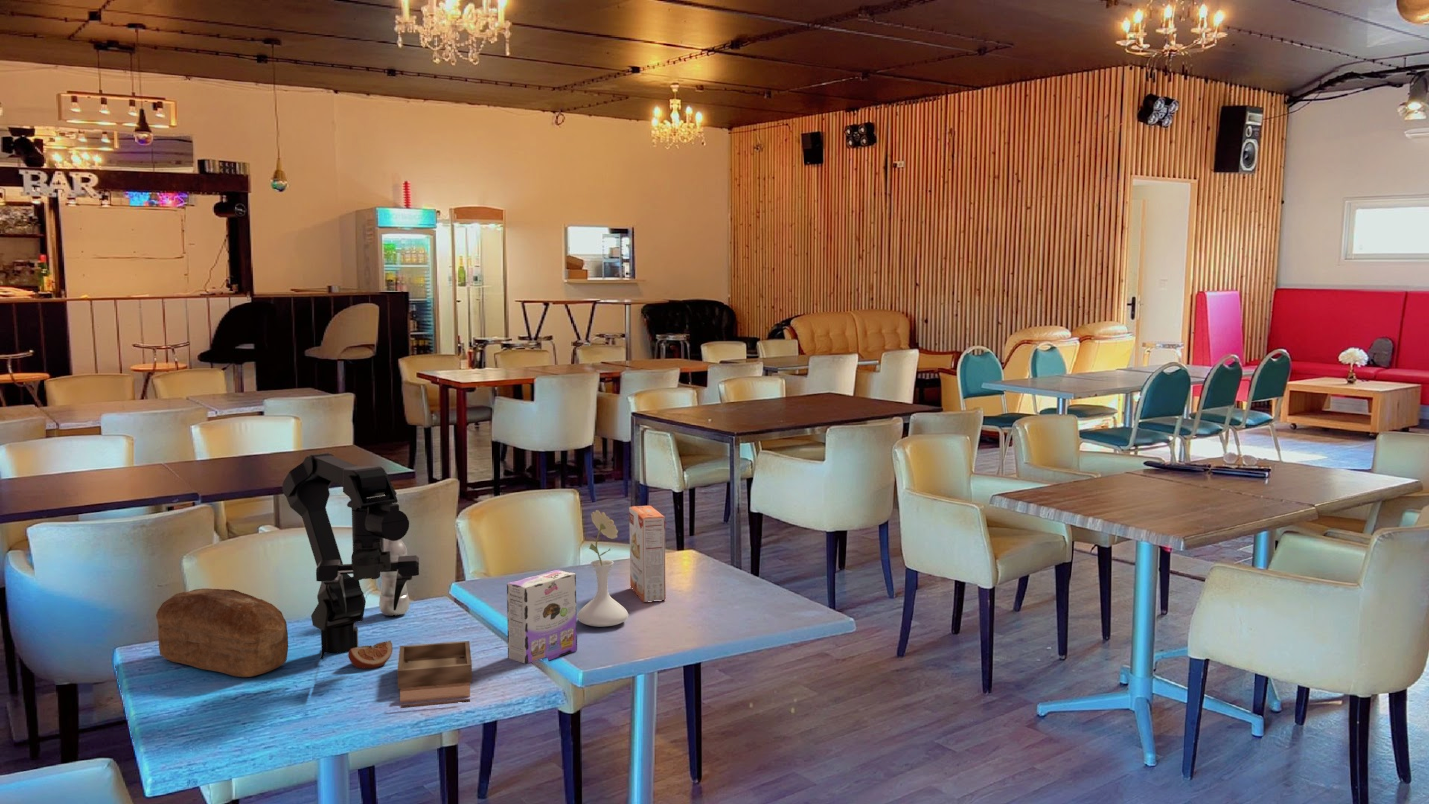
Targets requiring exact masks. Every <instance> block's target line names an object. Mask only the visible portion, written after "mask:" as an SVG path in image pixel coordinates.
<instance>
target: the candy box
mask: <svg viewBox="0 0 1429 804" xmlns="http://www.w3.org/2000/svg"><path fill="white" fill-rule="evenodd" d="M506 600H507V601H506V607H507V609H506V610H507V611H506V612H507V616H506V617H507V658H508V659H509V660H512V661H516V662H519V663H522V664H525V665H526V664H529V663H533V662H537V661H540V660H542V659H545V658H547V661H551V660H554V659H557V658H560V657H562V656H565V655H567V654H571V653H574V652H576V651H578V628H577V627H578V625H577V620H578V618H577V615H578V613H577V575H576V573H574V572H570V571H566V570H562V569H555V570H552V571H547V572H544V573H540V574H537V575H533V576H529V577H526V578H525V577H524V578H522V579H518V580H517V579H516V580H515V581H511V582H507V583H506Z"/></svg>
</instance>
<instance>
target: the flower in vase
mask: <svg viewBox="0 0 1429 804" xmlns="http://www.w3.org/2000/svg"><path fill="white" fill-rule="evenodd" d="M590 516H591V522H592V524H594V525H595V528H596V529H597V530H598V533H597V535H596V539H595V545H594V544H593V543H590V546H589V550H591V551H592V552H594V553H595V554H597V557H598V560H594V561H592V562H590V564H591V566H592V567H593V568H594V570H595V574H596V580H597V581H596V582H597V591H596V593H595V596H594V598H592V599H591V600H590V601H588V602H587V603H586V604H585V605H584V606H583V607H581V609H580V610H579V611H578V613H577V614H576V615H577V620H578V621H579V622H580V623H582V624H584V625H587V626H590V627H596V628H597V627H600V628H601V627H612V626H617V625H620V624H623V622H626V620H627V619H628V617H629V612H628V611H627V609H626V608H625V607H624V606H623V605H621V604H620V603H619V602H618V601H616V599H614V598H612V597H611V595H610V593H609V587H608V585H609V584H608V583H609V575H610V574H609V573H610V571H611V568H612V566H613V565H614V561H613V560H610V559H601V556H603V555H604V554H606V553H607V552H609V551H611V548H609V549H608V550H606V551H603V552H602V553H601V554H600V552H599V549H598V540H599V538H600V534H602V535H603V536H605V537H607V538H608V539H611V540H615V539H616V538H618V533H619V530H618V529H617V526H616V525H615V521H614V520H613V519H610V517H609V516H608V515H606V513H605V512H604V511H603V512H600V510H597V509H596V510H595V511H592V513H590Z"/></svg>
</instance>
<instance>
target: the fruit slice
mask: <svg viewBox="0 0 1429 804" xmlns="http://www.w3.org/2000/svg"><path fill="white" fill-rule="evenodd" d="M392 654H393V643H392V641H391V640H388V641H387V640H386V641H382V642H378V643H376V644H374V645H363V646H358V647H356V648H352V649H350V650H349V651H348V653H347V655H348V659H349V661H350V663H351V664H352V665H353V666H354V667H355V668H358V669H364V670H365V669H367V670H368V669H376V668H380V667H382V666H384V665H385V664H386V663H387V662H388V661H389V659H390V658H391V657H392Z"/></svg>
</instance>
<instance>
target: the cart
mask: <svg viewBox="0 0 1429 804" xmlns="http://www.w3.org/2000/svg"><path fill="white" fill-rule="evenodd" d="M398 650H399V652H398V661H397V689H398V690H400V688H410V687H422V686H434V685H445V684H457V683H469V682H470V684H472V683H473V668H472V667H473V665H472V664H473V663H472V656H471V655H472V653H471V643H470V641H469V640H463V641H461V640H460V641H449V642H439V643H438V642H436V643H425V644H413V645H412V644H411V645H408V644H407V645H400V646H399V649H398Z"/></svg>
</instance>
